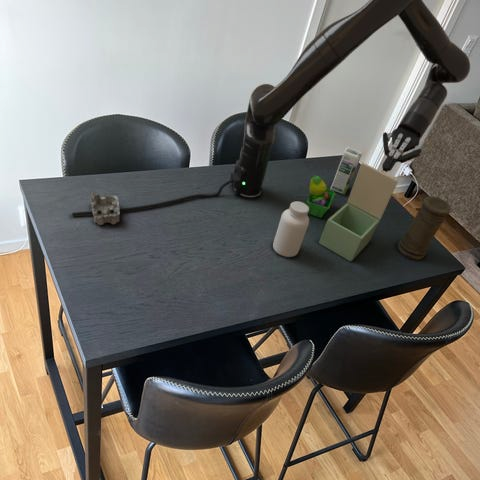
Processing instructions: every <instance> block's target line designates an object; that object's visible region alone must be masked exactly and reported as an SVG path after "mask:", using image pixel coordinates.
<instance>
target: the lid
mask: <svg viewBox="0 0 480 480" xmlns="http://www.w3.org/2000/svg"><path fill="white" fill-rule="evenodd" d="M398 182H399V179H396V178H395V177H393V176H391V175H389V174H387V173H385V172H384V171H380V170H379V169H377V168H376V167H373V166H372V165H369V164H367V163H365V162H361V164H360V166H359V168H358V171H357V174H356V177H355V180H354V182H353V185H352V188H351V191H350V194H349V196H348V199H347V201H346V203H349V204H351V205H353V206H354V207H356V208H358V209H360V210H362V211H364V212H366V213H367V214H369V215H371V216H373V217H375V218H377V219H379V220H381V219H382V217H383V215H384V212H385V211H386V209H387V206H388V204H389V202H390V200H391V198H392V196H393V194H394V191H395V189H396V187H397V185H398Z"/></svg>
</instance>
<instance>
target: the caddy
mask: <svg viewBox="0 0 480 480" xmlns="http://www.w3.org/2000/svg"><path fill="white" fill-rule="evenodd" d="M380 220H381V219H378V218H376V217H374V216H373V215H371V214H369V213H367V212H365V211H363V210H361V209H360V208H358V207H356V206H354V205H352V204H350V203H348V202H346V203H345V204H344V205H343V206H342V207H340V209H338V210H337V211H336V212H335V213H334V214H333V215H331V216H330V217H328V219H327V221H326V224H325V226H324V228H323V231H322V233H321V236H320V239H319V241H318V244H320V245H321V246H323V247H324V248H327V249H328V250H330V251H332V252H333V253H335V254H337V255H338V256H340V257H342V258H344V259H345V260H347V261H349V262H352V261H353V260H354V259H355V258H356V257H357V256H358V255H359V254H360V253H361V252H362V250H363V249H364V248H365V247H366V246H367V245H368V244H369V243H370V241H371V239H372V237H373V235H374V234H375V231H376V229H377V227H378V225H379V224H380Z"/></svg>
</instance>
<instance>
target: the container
mask: <svg viewBox="0 0 480 480" xmlns="http://www.w3.org/2000/svg"><path fill="white" fill-rule="evenodd" d="M451 211H452V207H451V205H450V204H449V203H448V201H446V200H445V199H442V198H440V197H438V196H433V195H429V196H426V197H425V198H424V199H423V201H422V204H421V206H420V208H419V209H418V210H417V213H416V214H415V216H414V218H413V220H412V222H411V224H410V225H409V228H408V229H407V230H406V231H405V233H404V235H403V236H402V237H401V238H400V240H399V241H398V242H397V249H398V251H399V252H400V253H401V254H402V255H403V256H405V257H406V258H408V259H412V260H415V261H418V260H422V259H423V258H424V257H425V256H426V253H427V252H428V248H429V246H430V245H431V242H432V240H433V238H434V237H435V235H436V234H437V232H438V231H439V230H440V227H441V226H442V224H443V223H444V221H445V218H447V217H448V215H449V214H450V213H451Z"/></svg>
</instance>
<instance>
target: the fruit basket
mask: <svg viewBox="0 0 480 480" xmlns="http://www.w3.org/2000/svg"><path fill="white" fill-rule="evenodd" d="M308 191H309V195H308V197H307V199H306V205H307V206H308V208H309V212H308V214H307V215H311V216H314V217H317V218H320V219H322V218H323V217H324V215H325V214H326V213H327V211H329V209H330V207H331V205H332V203H333V200H334V197H335V196H336V191H334V190H330V188H329V189H328V188H327V184H326V182H324V180H323V179H322V177H321V176H320V175H313V177H312V178H310V184H309V189H308Z"/></svg>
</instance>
